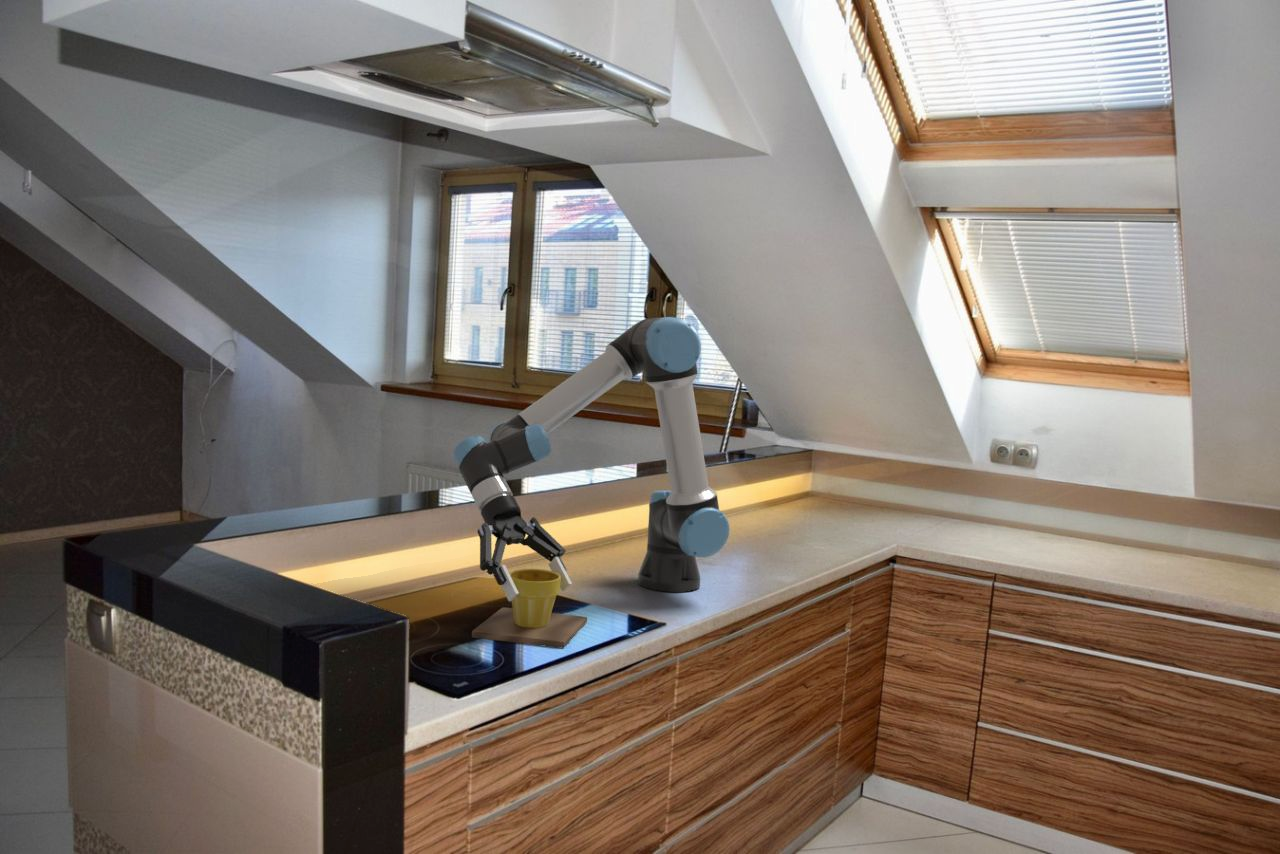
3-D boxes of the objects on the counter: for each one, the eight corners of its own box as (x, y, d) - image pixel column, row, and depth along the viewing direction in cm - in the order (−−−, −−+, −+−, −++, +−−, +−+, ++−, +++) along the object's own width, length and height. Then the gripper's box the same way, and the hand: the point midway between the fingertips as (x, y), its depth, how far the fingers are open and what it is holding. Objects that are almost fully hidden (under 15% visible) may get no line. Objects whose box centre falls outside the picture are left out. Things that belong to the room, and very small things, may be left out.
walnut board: (586, 622, 195) (587, 616, 195) (564, 648, 177) (564, 642, 177) (502, 612, 198) (502, 607, 198) (471, 637, 180) (472, 631, 180)
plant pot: (558, 632, 183) (561, 582, 182) (503, 630, 182) (506, 579, 181) (558, 617, 193) (561, 569, 192) (506, 615, 192) (509, 567, 191)
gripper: (534, 510, 205) (578, 593, 196) (437, 520, 187) (480, 612, 178) (552, 489, 201) (597, 573, 192) (454, 497, 183) (499, 590, 174)
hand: (541, 592), depth 185 cm, fingers open, 13 cm apart
